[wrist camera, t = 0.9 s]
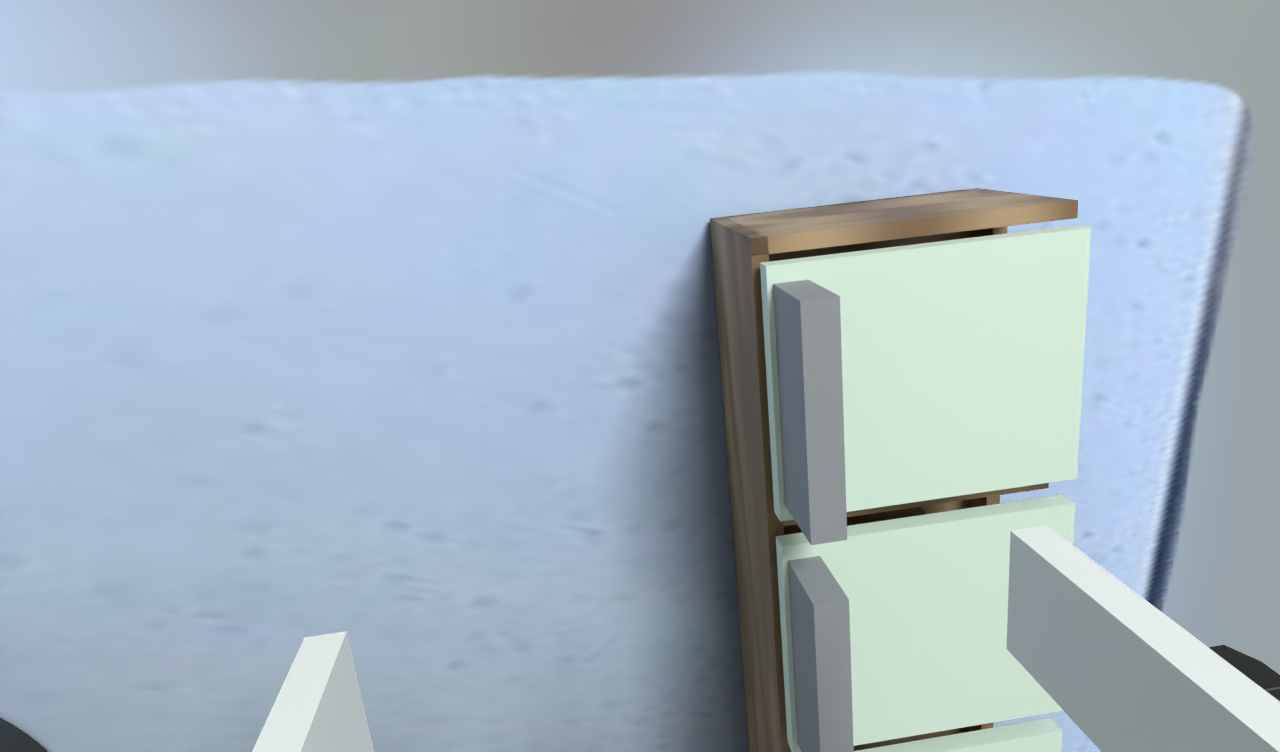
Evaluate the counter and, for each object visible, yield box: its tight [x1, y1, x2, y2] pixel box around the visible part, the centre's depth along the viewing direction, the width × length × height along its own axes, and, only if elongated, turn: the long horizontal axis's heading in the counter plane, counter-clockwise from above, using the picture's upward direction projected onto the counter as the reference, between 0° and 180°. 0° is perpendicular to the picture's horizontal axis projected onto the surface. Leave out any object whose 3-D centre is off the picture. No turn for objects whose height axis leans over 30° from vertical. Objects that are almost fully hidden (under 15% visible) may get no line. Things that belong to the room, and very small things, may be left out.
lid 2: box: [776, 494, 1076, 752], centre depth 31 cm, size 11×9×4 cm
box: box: [710, 188, 1078, 752], centre depth 36 cm, size 12×31×7 cm, turn 6°
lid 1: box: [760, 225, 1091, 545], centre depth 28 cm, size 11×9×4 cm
